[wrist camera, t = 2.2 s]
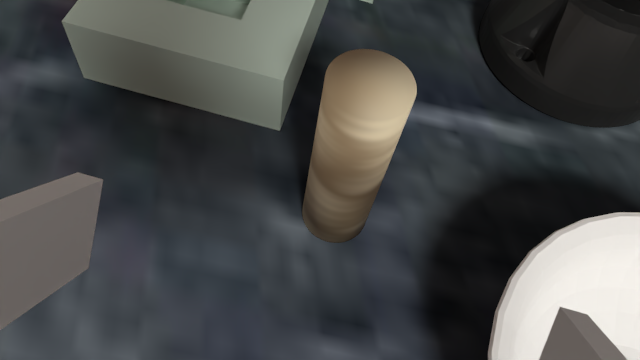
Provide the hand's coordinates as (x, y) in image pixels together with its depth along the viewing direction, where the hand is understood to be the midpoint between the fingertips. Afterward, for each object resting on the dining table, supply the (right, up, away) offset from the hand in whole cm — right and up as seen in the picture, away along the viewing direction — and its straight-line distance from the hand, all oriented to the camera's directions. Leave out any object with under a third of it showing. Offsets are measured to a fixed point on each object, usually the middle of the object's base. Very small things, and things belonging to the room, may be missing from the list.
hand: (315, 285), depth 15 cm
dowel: (+1, +1, +18) cm, 18 cm away
